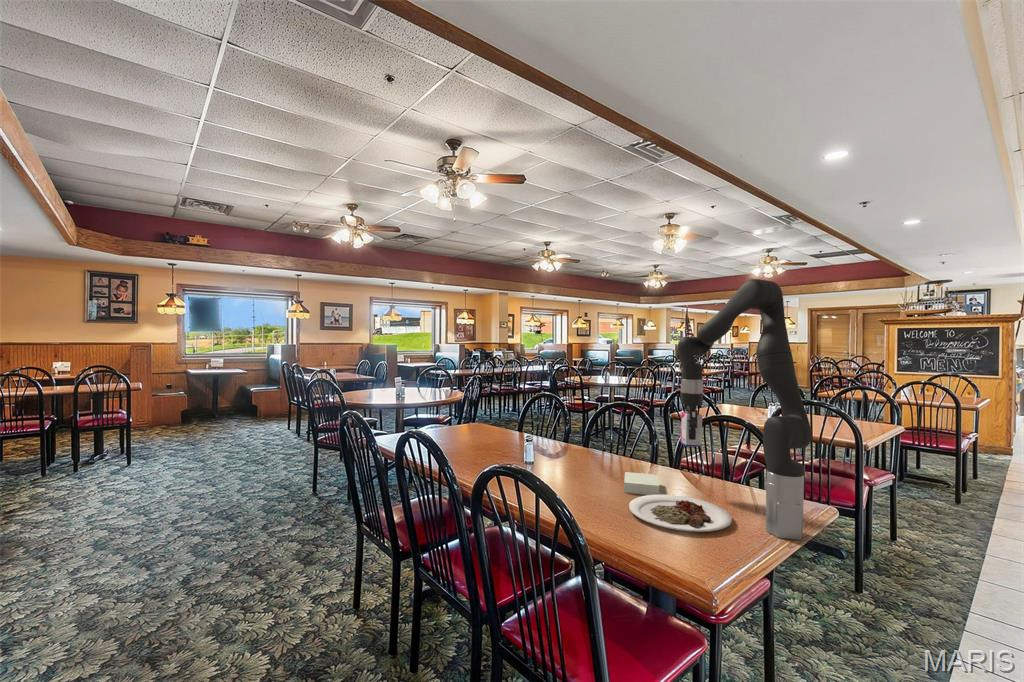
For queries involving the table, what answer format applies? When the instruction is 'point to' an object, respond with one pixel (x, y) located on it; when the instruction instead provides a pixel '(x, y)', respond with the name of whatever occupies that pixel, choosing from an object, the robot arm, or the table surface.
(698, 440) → the supplement box
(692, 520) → the plated food
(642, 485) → the sage block
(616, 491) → the table surface
